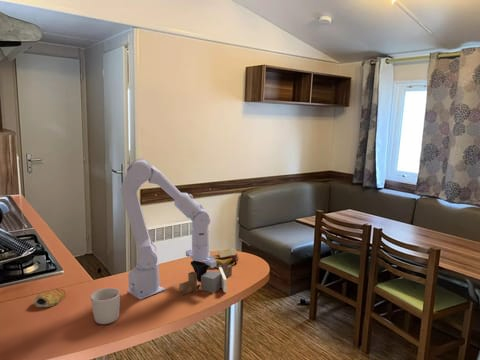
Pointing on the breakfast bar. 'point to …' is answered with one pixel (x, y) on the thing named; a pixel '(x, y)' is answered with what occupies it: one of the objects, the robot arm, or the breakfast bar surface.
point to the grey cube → (211, 281)
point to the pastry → (49, 297)
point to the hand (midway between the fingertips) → (200, 280)
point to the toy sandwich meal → (226, 257)
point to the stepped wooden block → (192, 279)
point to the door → (223, 279)
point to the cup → (105, 305)
